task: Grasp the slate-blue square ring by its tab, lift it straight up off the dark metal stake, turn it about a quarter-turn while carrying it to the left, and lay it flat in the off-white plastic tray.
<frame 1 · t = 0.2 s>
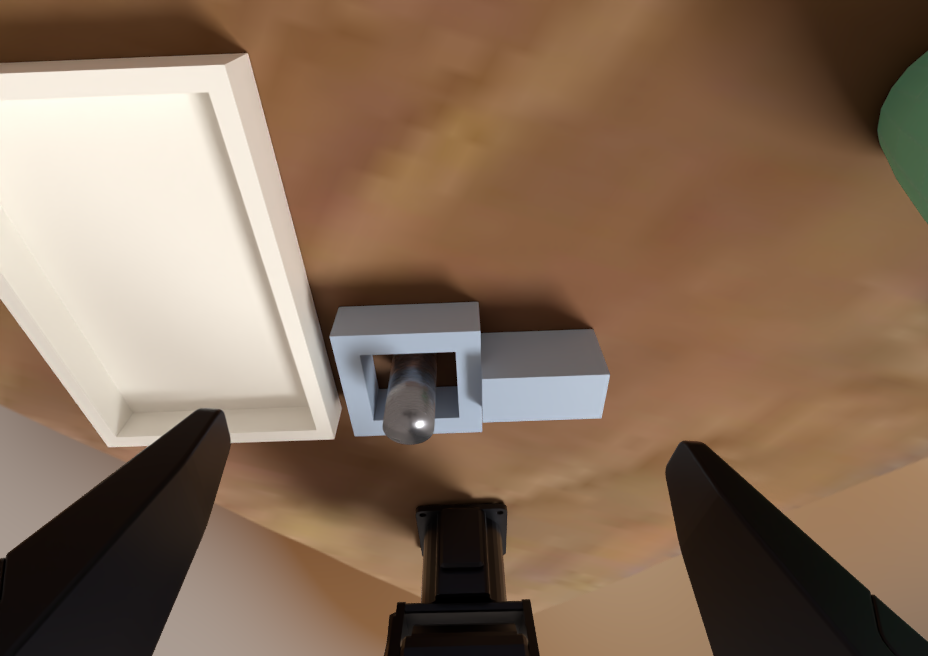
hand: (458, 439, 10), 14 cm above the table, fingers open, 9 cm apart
tray: (174, 278, 24), on the table
stake: (415, 357, 27), on the table
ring: (415, 357, 27), on the table
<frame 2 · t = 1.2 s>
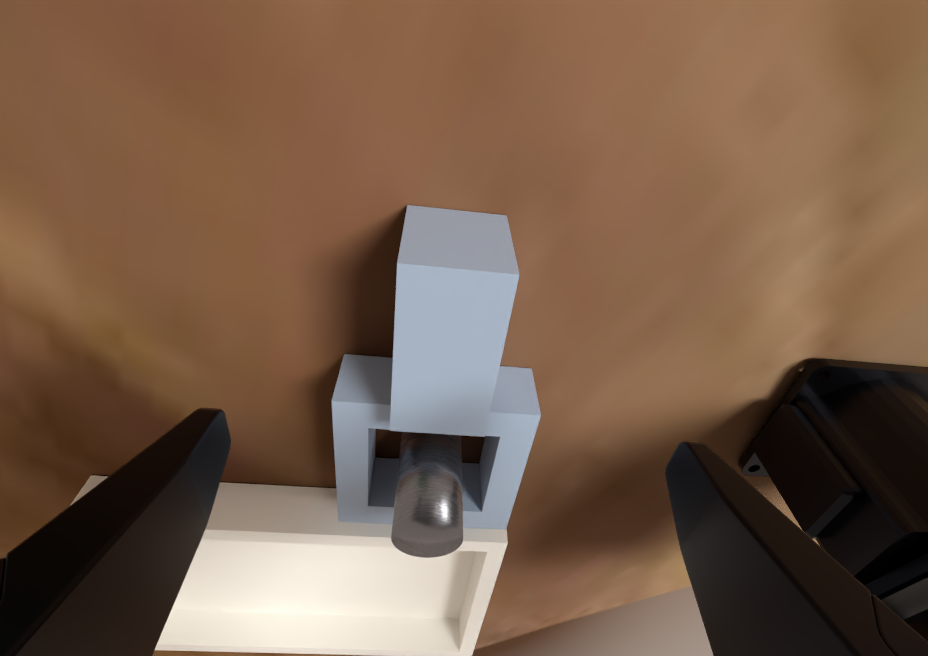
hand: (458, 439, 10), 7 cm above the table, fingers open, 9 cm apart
tray: (313, 557, 27), on the table
stake: (431, 425, 20), on the table
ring: (431, 425, 20), on the table
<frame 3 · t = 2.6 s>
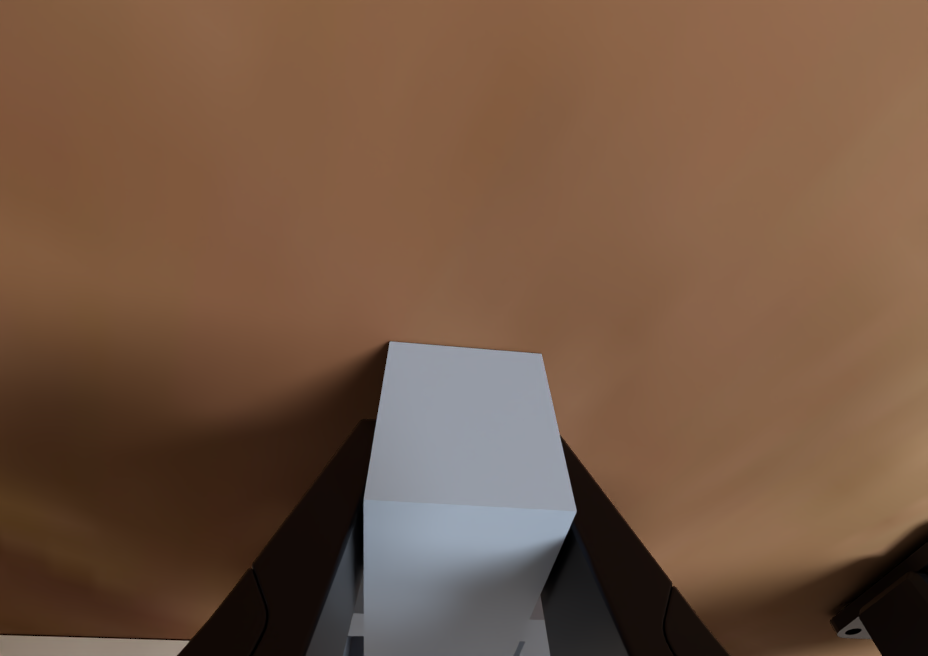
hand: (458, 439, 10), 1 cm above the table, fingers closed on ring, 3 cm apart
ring: (429, 584, 15), on the table, touching gripper
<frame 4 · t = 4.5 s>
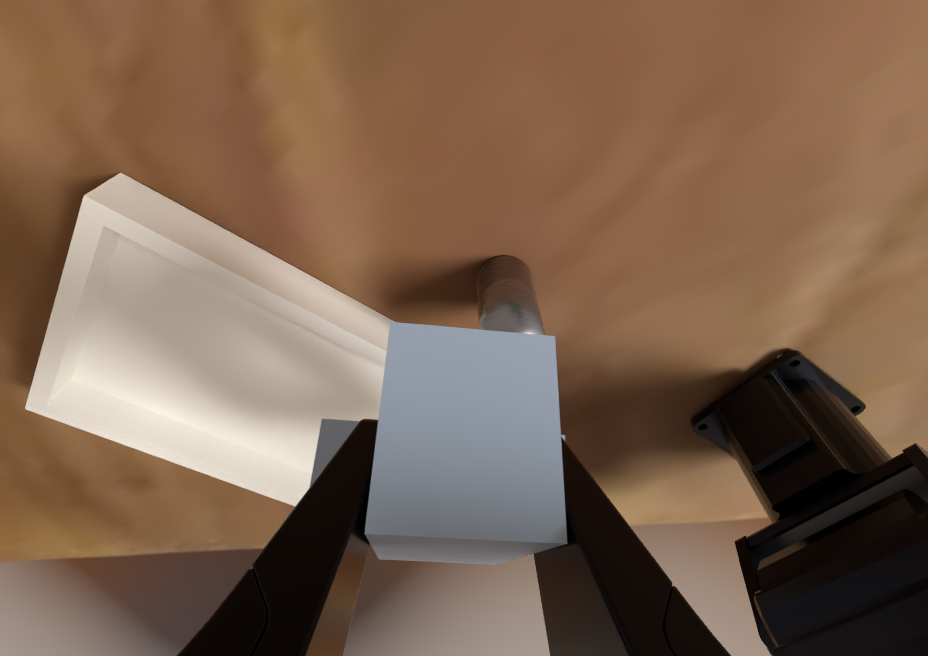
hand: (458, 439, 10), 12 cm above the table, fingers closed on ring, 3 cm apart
tray: (283, 378, 25), on the table
stake: (503, 279, 22), on the table
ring: (437, 456, 17), point 8 cm above the table, tilted 25°, touching gripper
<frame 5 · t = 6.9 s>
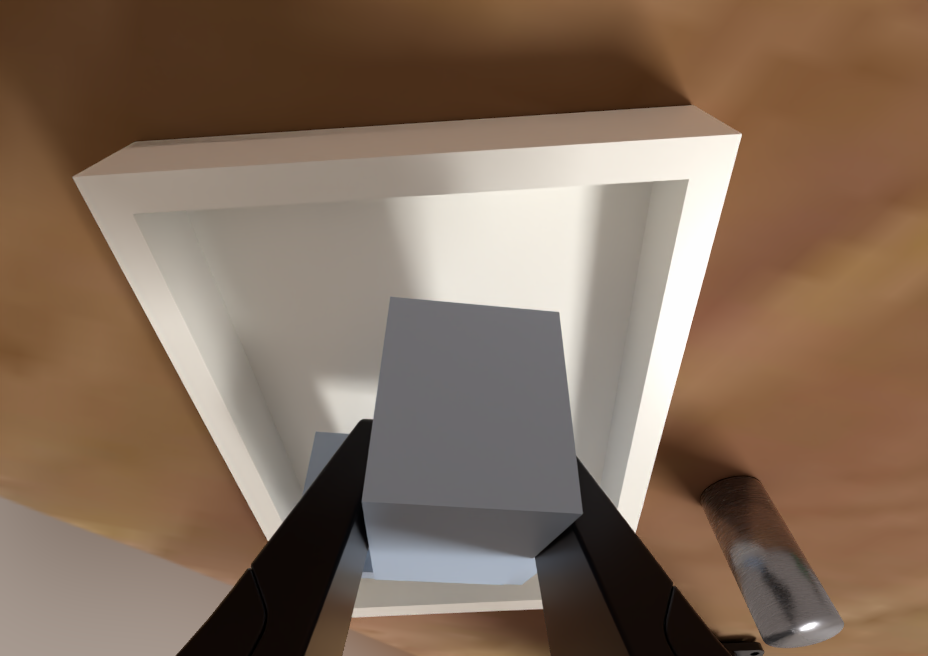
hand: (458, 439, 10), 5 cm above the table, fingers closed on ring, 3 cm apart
tray: (444, 413, 17), on the table
stake: (731, 495, 20), on the table
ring: (436, 482, 16), point 2 cm above the table, tilted 18°, touching gripper, tray
when the fingers open (4 cm above the table, at t = 7.5 s): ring stays where it is, resting on tray.
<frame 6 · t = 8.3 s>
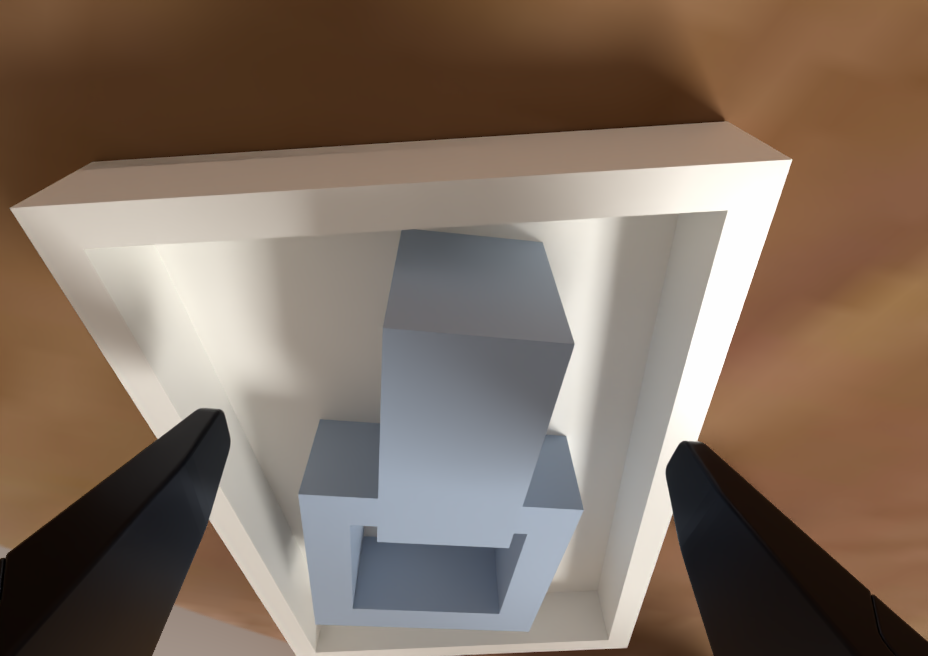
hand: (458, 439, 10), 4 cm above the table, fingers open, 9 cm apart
tray: (443, 449, 15), on the table
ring: (435, 500, 16), resting on tray
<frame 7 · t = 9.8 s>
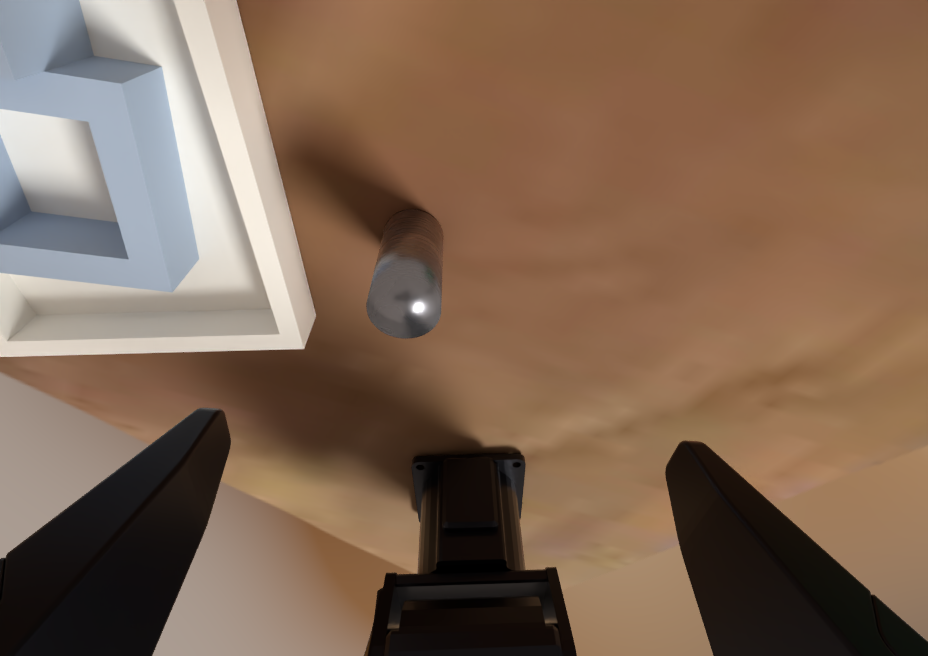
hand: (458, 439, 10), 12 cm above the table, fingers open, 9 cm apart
tray: (71, 97, 17), on the table
stake: (413, 237, 20), on the table
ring: (77, 159, 17), resting on tray
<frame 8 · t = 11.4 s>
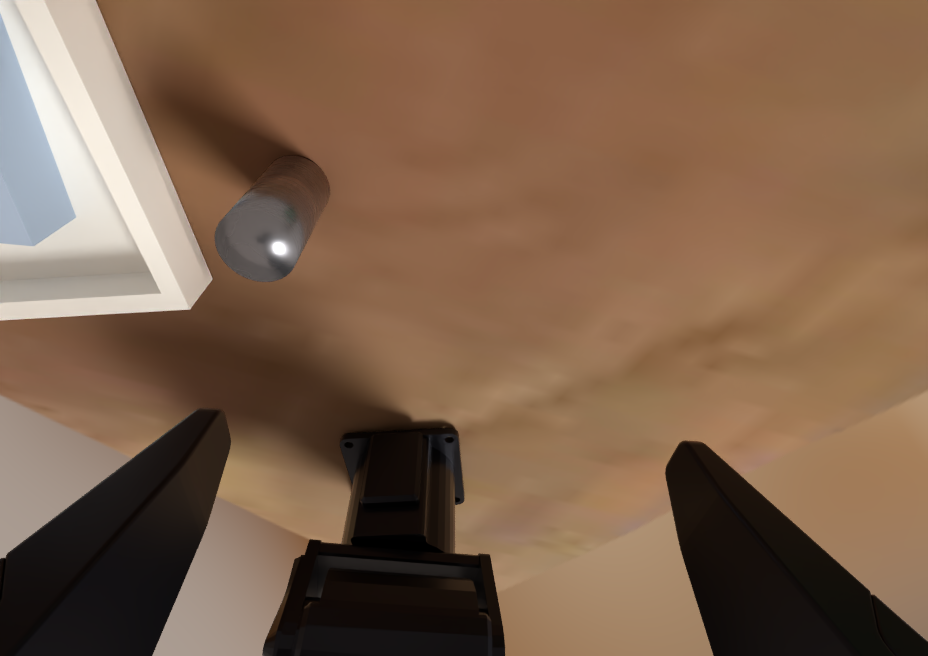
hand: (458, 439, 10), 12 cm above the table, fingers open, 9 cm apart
stake: (298, 186, 19), on the table
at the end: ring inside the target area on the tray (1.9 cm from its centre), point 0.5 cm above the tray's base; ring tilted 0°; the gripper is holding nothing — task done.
